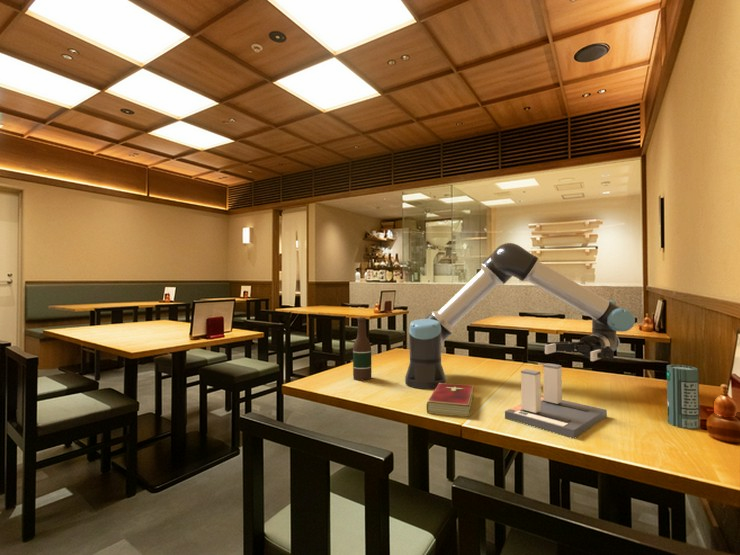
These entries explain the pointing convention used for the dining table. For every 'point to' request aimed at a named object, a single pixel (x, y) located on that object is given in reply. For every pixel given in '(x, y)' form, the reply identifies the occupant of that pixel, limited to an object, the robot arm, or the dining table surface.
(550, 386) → the back tab
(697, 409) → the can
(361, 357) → the beer bottle
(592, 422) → the switch base
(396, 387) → the dining table surface
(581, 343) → the robot arm
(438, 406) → the hardcover book
